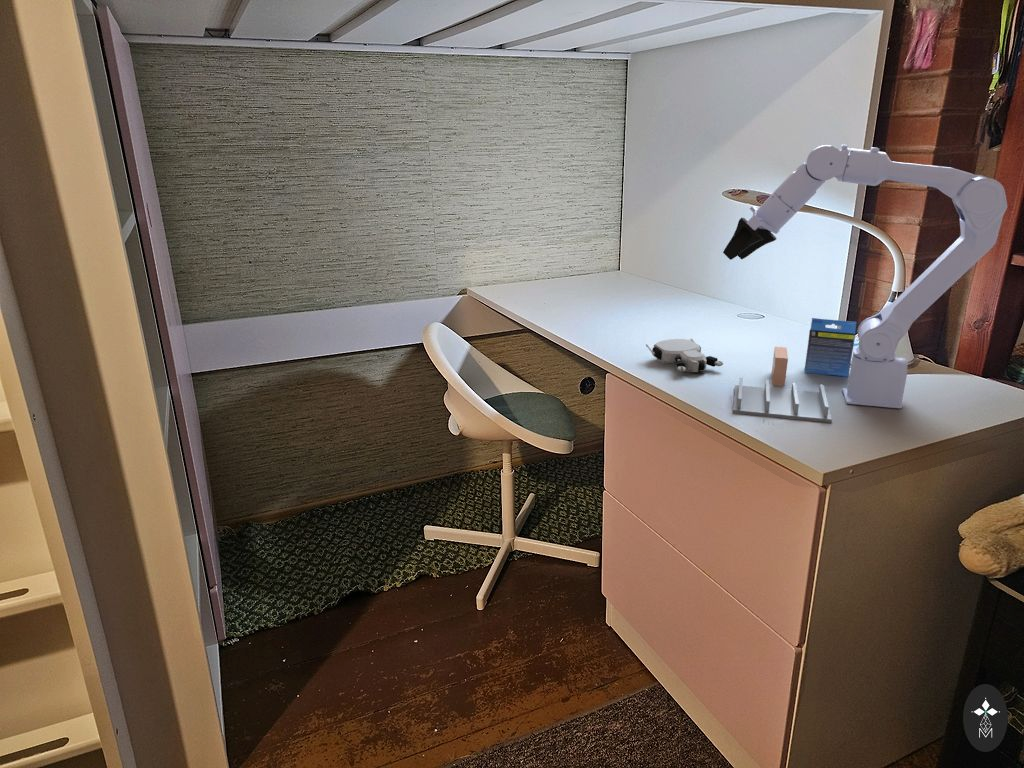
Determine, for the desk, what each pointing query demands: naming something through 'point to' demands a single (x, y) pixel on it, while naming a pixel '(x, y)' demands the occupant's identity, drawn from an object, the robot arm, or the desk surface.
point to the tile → (779, 366)
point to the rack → (781, 402)
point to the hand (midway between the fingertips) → (732, 256)
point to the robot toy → (683, 355)
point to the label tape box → (830, 347)
